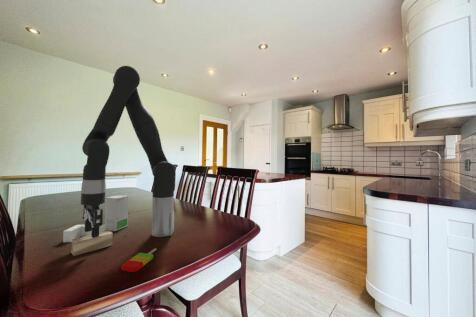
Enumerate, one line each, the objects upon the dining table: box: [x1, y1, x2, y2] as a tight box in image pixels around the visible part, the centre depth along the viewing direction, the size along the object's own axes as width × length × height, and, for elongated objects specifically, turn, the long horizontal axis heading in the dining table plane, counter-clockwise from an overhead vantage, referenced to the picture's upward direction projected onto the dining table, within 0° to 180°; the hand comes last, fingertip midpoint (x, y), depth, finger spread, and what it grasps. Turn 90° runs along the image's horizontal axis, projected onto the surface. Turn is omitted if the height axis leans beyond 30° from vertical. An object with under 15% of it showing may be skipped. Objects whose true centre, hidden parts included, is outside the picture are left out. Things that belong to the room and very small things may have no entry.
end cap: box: [62, 223, 107, 243], centre depth 86 cm, size 12×8×4 cm, turn 97°
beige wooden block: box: [71, 230, 114, 257], centre depth 76 cm, size 4×12×5 cm, turn 141°
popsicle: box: [121, 248, 158, 273], centre depth 69 cm, size 6×15×2 cm, turn 170°
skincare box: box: [104, 195, 129, 232], centre depth 99 cm, size 8×7×16 cm
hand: (91, 234), depth 76 cm, fingers open, 8 cm apart
